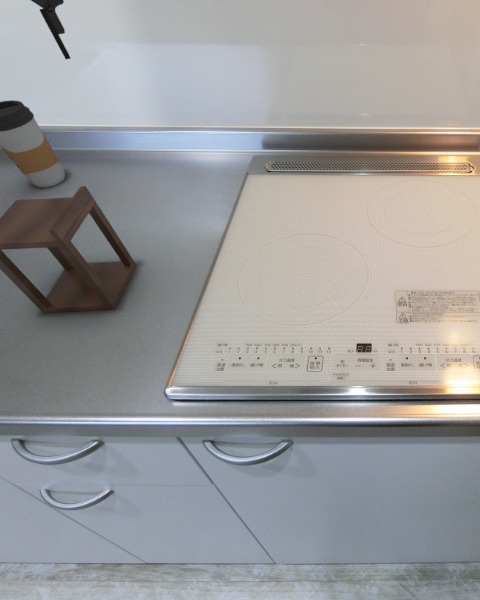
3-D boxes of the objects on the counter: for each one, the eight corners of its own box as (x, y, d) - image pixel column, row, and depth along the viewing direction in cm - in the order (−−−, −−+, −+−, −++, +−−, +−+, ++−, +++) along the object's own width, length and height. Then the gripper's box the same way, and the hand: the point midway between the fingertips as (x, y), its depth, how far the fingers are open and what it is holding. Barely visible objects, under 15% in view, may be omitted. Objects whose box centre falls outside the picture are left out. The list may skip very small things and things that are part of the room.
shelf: (43, 313, 68) (-34, 234, 56) (70, 268, 74) (7, 189, 62) (115, 309, 68) (54, 230, 56) (136, 264, 75) (86, 185, 63)
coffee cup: (21, 180, 92) (-32, 109, 81) (63, 164, 96) (17, 95, 85) (35, 195, 88) (-19, 124, 77) (78, 178, 92) (32, 108, 81)
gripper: (-238, -107, 47) (-77, 92, 63) (26, -121, 56) (108, 56, 72) (-224, -114, 51) (-76, 75, 67) (21, -126, 60) (99, 42, 76)
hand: (20, 65), depth 70 cm, fingers open, 13 cm apart
